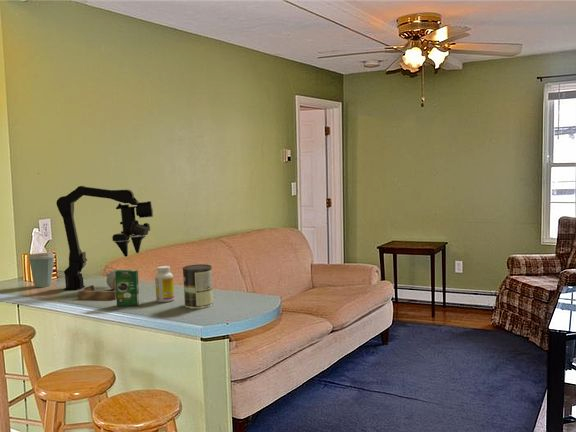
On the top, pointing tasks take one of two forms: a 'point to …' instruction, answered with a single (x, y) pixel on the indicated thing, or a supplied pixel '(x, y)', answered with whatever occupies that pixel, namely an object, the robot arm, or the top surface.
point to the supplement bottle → (164, 284)
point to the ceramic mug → (111, 280)
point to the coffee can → (198, 286)
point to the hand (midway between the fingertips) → (131, 254)
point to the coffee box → (127, 287)
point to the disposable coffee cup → (42, 268)
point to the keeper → (96, 294)
